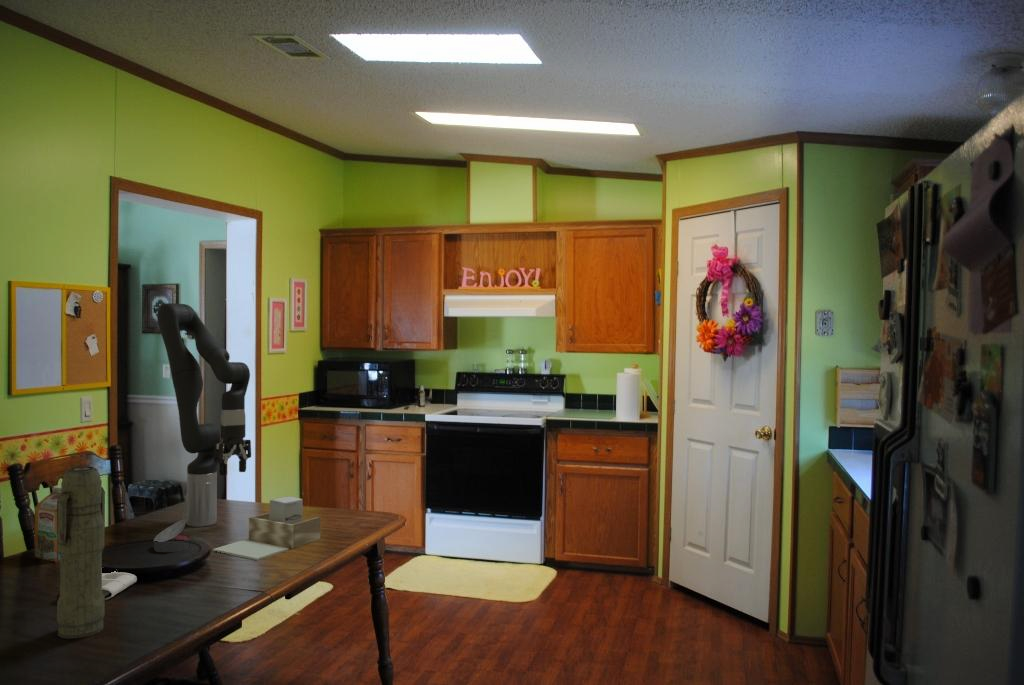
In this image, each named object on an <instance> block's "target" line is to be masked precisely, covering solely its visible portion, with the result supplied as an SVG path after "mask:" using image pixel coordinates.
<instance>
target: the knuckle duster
mask: <svg viewBox="0 0 1024 685" xmlns="http://www.w3.org/2000/svg"><path fill="white" fill-rule="evenodd" d="M137 580H138V578H137V576H136V575H135V574H132V573H129V572H124V571H123V572H121V571H120V572H118V571H117V572H116V571H114V572H111V573H102V592H103V594H104V598H105V600H109V599H112V598H113V597H115V595H118V593H121V592H122V591H124V590H125V589H126V588H128V587H130V586H132V585H134V584H135V583H137ZM109 594H111V595H110V596H108V595H109Z"/></svg>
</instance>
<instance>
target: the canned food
mask: <svg viewBox="0 0 1024 685" xmlns="http://www.w3.org/2000/svg"><path fill="white" fill-rule="evenodd" d="M186 522H187V519H185V518H183V519H180V520H179V521H177V522H175V523H173V524H172V525H170V526H168V527H166V528H164V529H163V530H161V532H159V533H158V534H156V536H155V537H154V538H153V542H154V541H158V542H165V541H168V540H170V539H184V540H190V539H191V538H190V536H189V535H187V534H182V532H183V530H184V528H185V527H186V525H187V524H186Z"/></svg>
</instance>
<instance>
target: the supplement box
mask: <svg viewBox="0 0 1024 685" xmlns="http://www.w3.org/2000/svg"><path fill="white" fill-rule="evenodd" d="M303 500H304V499H302V498H300V497H293V496H284V497H279V498H273V499H270V500H269V512H270V516H269V520H271V521H277V522H282V523H288V524H295V523H298V522H302V521H303V514H304V512H303V511H304V507H303V505H304V504H303V502H304V501H303Z"/></svg>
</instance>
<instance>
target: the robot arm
mask: <svg viewBox="0 0 1024 685" xmlns="http://www.w3.org/2000/svg"><path fill="white" fill-rule="evenodd" d="M156 316H157V319H156V320H157V324H158V327H159V331H160V335H161V337H162V340H163V344H164V347H165V350H166V355H167V359H168V363H169V368H170V375H171V379H172V380H171V381H172V385H173V389H174V394H175V399H176V404H177V409H178V410H177V411H178V418H179V428H180V438H181V439H180V440H181V442H182V446H183V447H184V450H185V451H186V452H187V453H189V454H197V456H196V457H195V458H194V460H192V461H190V463H188V464H187V466H186V467H187V468H186V471H187V473H186V478H187V479H186V485H187V486H186V487H187V489H186V494H185V496H184V519H187V522H186V524H185V525H187V526H188V527H207V526H213V525H215V524H217V522H218V521H217V520H218V519H217V518H218V517H217V514H218V510H217V509H218V507H217V506H218V504H217V503H218V498H217V497H218V491H217V489H218V466H219V474H220V476H223V477H224V476H227V475H228V463H227V462H228V461H229V459H230V458H231V457H232V456H237V458H238V459H239V461H238V472H239V473H245V472H246V471H247V461H248V459H249V458H251V457H252V442H251V440H250V439H244V438H245V437H246V412H245V409H246V407H245V404H246V403H245V402H246V401H245V400H246V393H247V390H248V387H249V386H248V385H249V382H250V377H251V373H250V368H249V366H248V364H246V363H244V362H241V361H239V362H238V361H230V357H231V356H230V353H229V352H228V350H227V349H226V348H225V347H223V345H221V343H220V342H218V340H217V339H216V338H215V337H214V336H213V335H212V333H211V332H210V331H209V330H208V328H207V327H206V325H205V324H204V322H203V321H202V320H201V318H200V317H199V315H198V314H197V312H196V310H194V308H192V307H191V306H190V305H189V304H184V303H173V302H172V303H170V302H168V303H167V302H166V303H162V304H161V305H160V306H159V307H158V310H157V315H156ZM182 331H184V332H186V333H188V334H189V335H190V336H191V337H192V338H193V339H194V342H195V349H196V351H197V353H198V354H199V355H200V357H201V358H202V359H203V360H204V361H205V362H206V363H207V364H208V365H209V366H210V368H211V370H212V372H213V374H214V376H215V378H216V379H217V380H218V381H219V382H220V383H222V384H225V385H231V386H230V388H229V390H228V391H224V392H223V393H222V395H221V414H220V430H219V428H218V426H217V425H216V424H214V423H209V422H208V423H201V424H200V423H199V419H198V413H197V409H198V405H199V404H198V403H199V401H200V398H201V396H202V391H203V388H204V381H203V380H204V379H203V374H202V369H201V366H200V364H199V362H198V360H197V359H196V358H195V357H194V355H193V353H192V352H191V351H190V350H189V349H188V347H187V346H186V345H185V343H184V340H183V339H182V334H181V332H182ZM221 439H222V440H221ZM221 441H222V443H221Z"/></svg>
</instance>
